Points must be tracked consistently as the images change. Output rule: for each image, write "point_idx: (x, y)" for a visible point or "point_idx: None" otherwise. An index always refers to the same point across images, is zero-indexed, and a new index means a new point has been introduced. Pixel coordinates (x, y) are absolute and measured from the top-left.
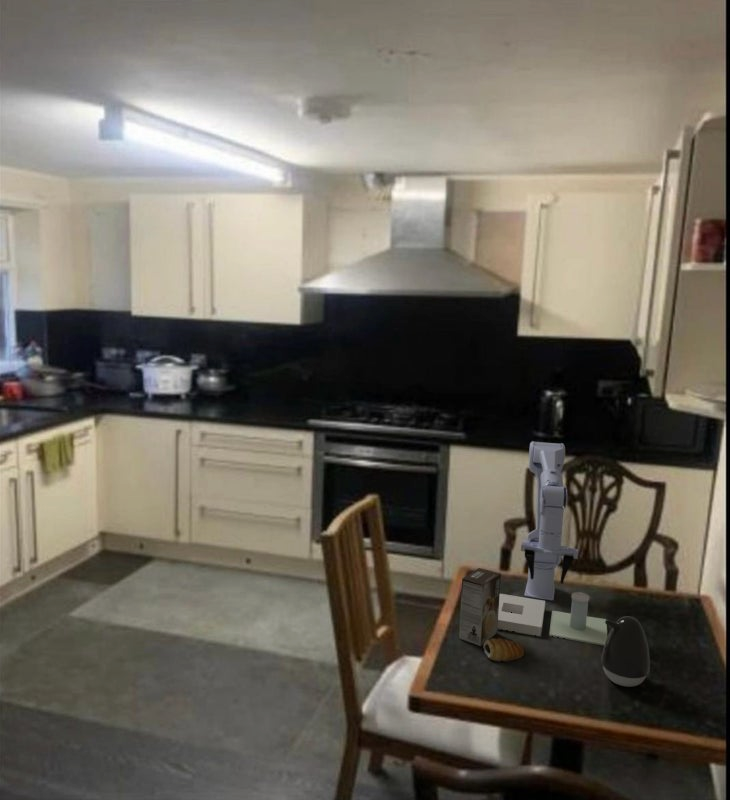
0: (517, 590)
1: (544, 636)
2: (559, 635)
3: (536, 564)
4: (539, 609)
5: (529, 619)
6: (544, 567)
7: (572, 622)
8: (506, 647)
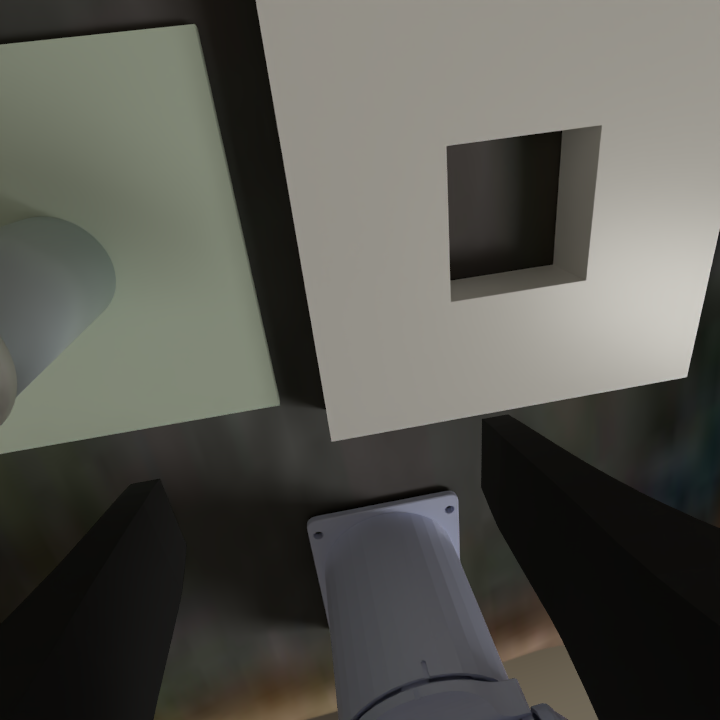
0: (493, 528)
1: (228, 2)
2: (115, 41)
3: (473, 705)
4: (340, 302)
5: (377, 80)
6: (407, 701)
7: (64, 237)
8: None
